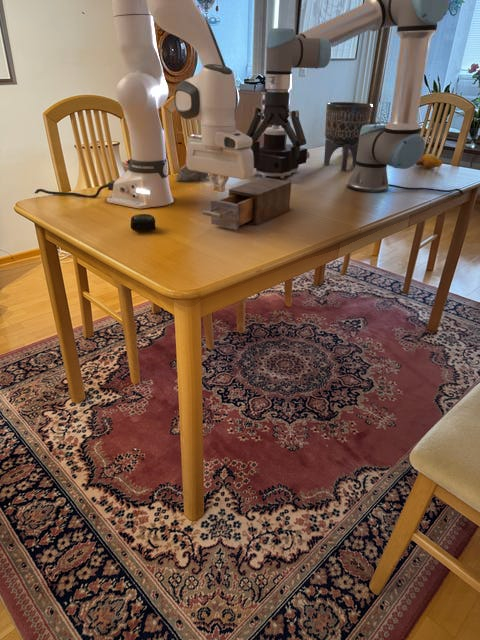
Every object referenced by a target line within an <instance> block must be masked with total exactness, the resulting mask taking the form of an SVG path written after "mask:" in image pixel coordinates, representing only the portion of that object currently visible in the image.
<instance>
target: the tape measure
mask: <svg viewBox="0 0 480 640" xmlns="http://www.w3.org/2000/svg"><path fill="white" fill-rule="evenodd" d="M130 229H131V230H132V231H134V232H143V233H144V232H147V231H155V230H156V219H155V217H154V216H153V215H152V214H149V213H139V214H138V213H137V214H135V215H133V216H132V217H131V218H130Z"/></svg>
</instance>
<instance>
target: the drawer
mask: <svg viewBox="0 0 480 640" xmlns="http://www.w3.org/2000/svg"><path fill="white" fill-rule="evenodd" d="M202 215H204V216H206V217H210V218H211V221H210V223H211V225H213V226H214V225H215V226H218V227H222V228H226V229H230V230H233V231H234V230H235V231H237V230H239V228H240V226H242V225H244V224H247V223H246V222H248V221H251V220H253V219H254V198H253V197H248V196H243V195H238V194H233V195H230V196H229V195H228V196H225V197H222V198H219V199H216V198H212V199H210V209H206V208H205V209H203V210H202Z"/></svg>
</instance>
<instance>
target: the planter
mask: <svg viewBox="0 0 480 640" xmlns="http://www.w3.org/2000/svg"><path fill="white" fill-rule="evenodd" d="M373 107H374V106H373V104H372V103H367V102H353V101H333V102H327V103H326V109H325V124H324V125H325V126H324V139H325V144H324V156H323V157H324V158H323V165H325V166H328V165H330V163H331V158H332V156H333V154H334V153H335V151H336V150H337V149H340V148H341V152H342V153H341V166H340V170H341V172H345V171H347V167H348V166H347V165H348V159H349V153H348V152H349V150H350V151H351V153H352V154H351V153H350V154H351V157H352V158H351V159H352V160H351V161H352V166H353V167H355V165H356V158H357V150H358V143H359V135H360V131H361V128H362V127H363V126H364V125H370V121H371V116H372V112H373Z"/></svg>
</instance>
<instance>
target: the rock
mask: <svg viewBox="0 0 480 640" xmlns="http://www.w3.org/2000/svg"><path fill="white" fill-rule="evenodd" d="M206 178H209V173H205V172H199V171H193V170H189V169H188V168H187V166H186V163H185V164H184V165H182V166H181V167H180V168H179V169H178V171H177V175H176V180H177V181H178V182H179V181H180V182H185V183H191V182H201V181H202V180H204V179H206Z"/></svg>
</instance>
